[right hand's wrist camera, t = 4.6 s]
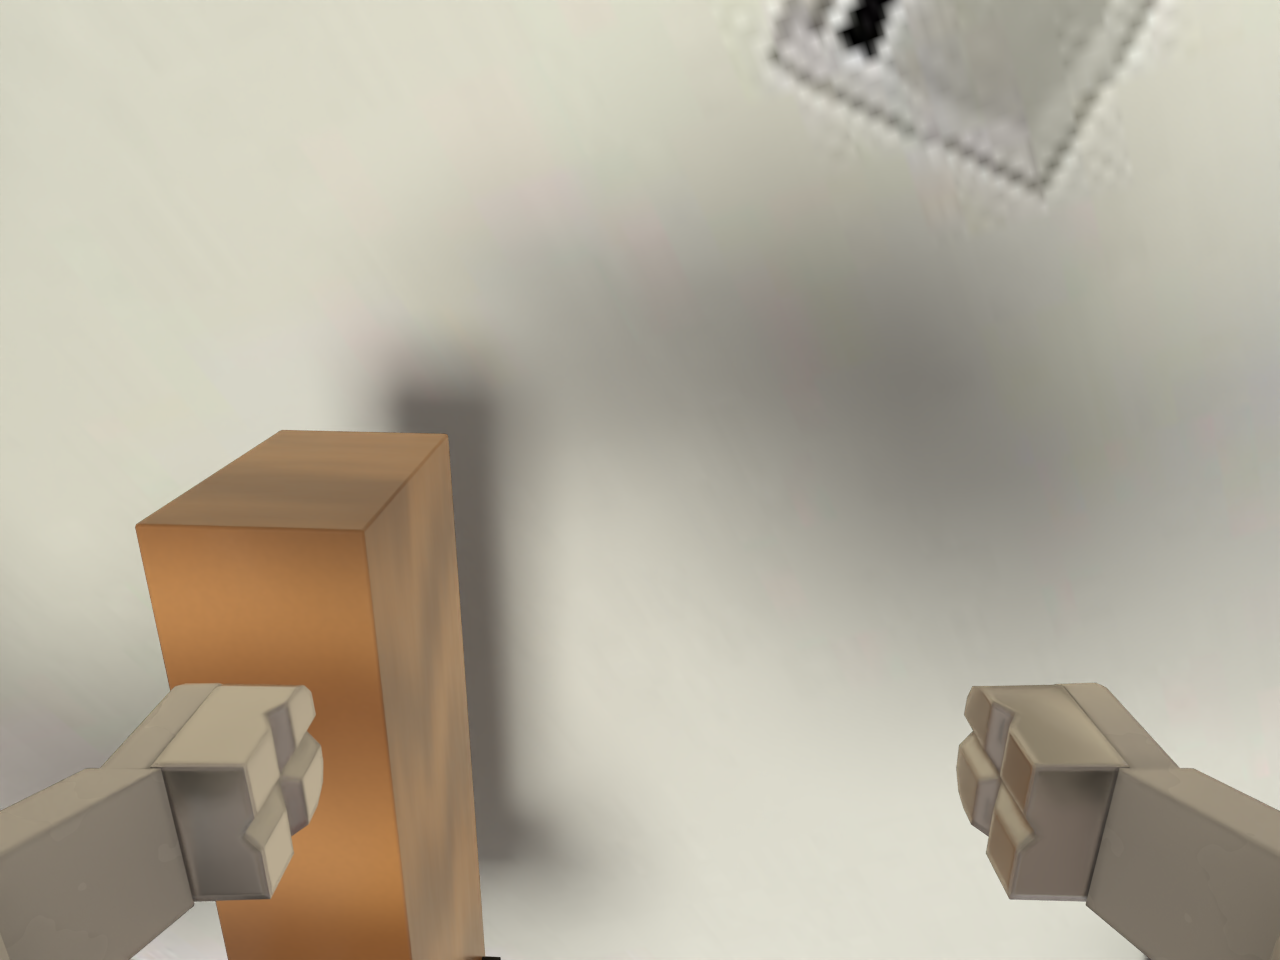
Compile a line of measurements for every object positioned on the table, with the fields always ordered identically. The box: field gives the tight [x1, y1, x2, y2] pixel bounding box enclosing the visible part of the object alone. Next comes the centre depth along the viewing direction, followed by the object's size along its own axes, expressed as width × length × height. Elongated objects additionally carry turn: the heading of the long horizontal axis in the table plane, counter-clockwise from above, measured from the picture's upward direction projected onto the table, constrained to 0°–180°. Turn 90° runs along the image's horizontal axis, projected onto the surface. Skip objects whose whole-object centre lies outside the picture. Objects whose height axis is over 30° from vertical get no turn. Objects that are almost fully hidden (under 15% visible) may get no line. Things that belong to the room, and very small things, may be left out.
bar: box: [135, 430, 485, 960], centre depth 28 cm, size 27×6×8 cm, turn 179°
